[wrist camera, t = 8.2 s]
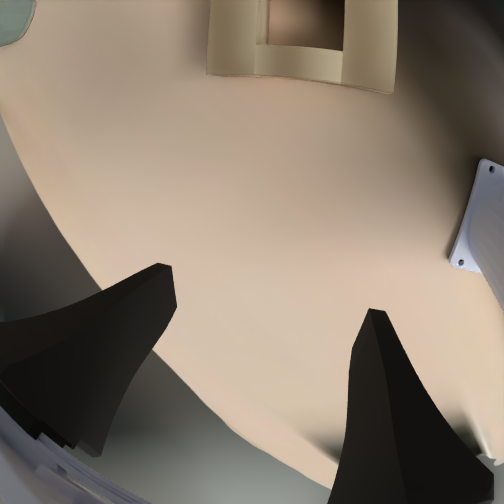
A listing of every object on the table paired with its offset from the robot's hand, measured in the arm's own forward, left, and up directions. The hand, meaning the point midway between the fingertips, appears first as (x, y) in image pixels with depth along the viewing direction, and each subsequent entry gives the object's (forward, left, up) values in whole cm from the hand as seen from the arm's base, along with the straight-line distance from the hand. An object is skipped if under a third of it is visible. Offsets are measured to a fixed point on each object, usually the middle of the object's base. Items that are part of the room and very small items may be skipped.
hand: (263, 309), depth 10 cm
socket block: (+1, -16, -10) cm, 19 cm away
